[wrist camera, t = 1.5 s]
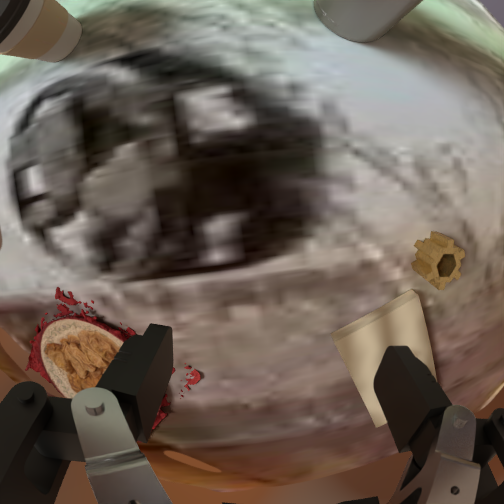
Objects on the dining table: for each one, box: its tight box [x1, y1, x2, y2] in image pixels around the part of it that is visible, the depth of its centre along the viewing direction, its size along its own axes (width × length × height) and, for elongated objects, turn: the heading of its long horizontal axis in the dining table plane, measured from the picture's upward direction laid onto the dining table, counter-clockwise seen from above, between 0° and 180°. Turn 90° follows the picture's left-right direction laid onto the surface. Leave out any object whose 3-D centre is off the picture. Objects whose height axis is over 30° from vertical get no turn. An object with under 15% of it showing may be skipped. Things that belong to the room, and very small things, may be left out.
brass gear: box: [411, 231, 465, 290], centre depth 30 cm, size 6×6×4 cm
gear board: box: [331, 289, 437, 428], centre depth 34 cm, size 12×22×6 cm, turn 29°
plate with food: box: [25, 287, 200, 442], centre depth 38 cm, size 24×26×4 cm
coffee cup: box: [0, 0, 82, 62], centre depth 17 cm, size 9×9×15 cm
